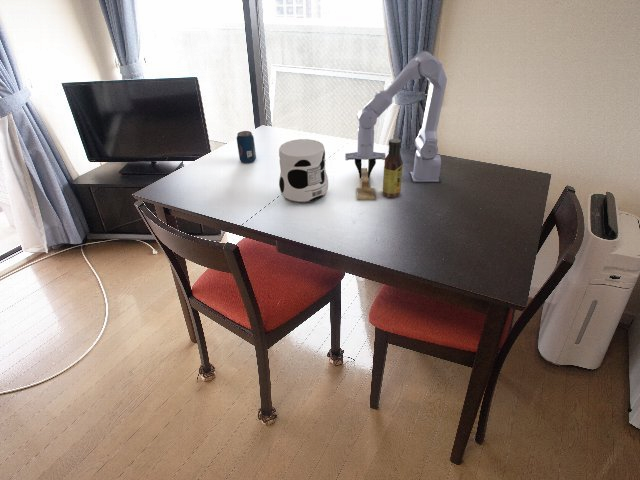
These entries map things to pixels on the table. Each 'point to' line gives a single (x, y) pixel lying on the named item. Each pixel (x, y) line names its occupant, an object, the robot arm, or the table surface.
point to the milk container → (302, 170)
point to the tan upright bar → (365, 187)
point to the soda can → (246, 147)
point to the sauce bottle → (393, 170)
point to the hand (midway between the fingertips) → (364, 177)
